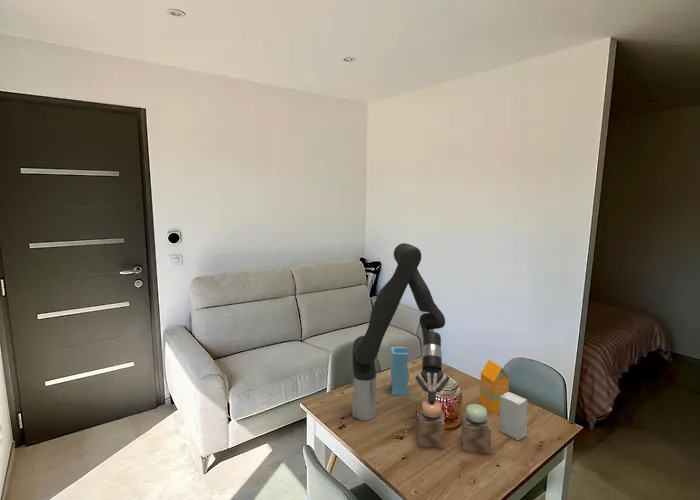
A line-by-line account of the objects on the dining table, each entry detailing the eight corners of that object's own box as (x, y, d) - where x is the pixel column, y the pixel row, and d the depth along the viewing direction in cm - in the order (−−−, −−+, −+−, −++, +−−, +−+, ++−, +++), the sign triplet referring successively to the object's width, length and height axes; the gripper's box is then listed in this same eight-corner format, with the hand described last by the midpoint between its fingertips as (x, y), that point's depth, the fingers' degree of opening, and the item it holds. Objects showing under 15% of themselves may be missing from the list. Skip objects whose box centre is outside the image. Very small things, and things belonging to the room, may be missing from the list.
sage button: (467, 421, 136) (467, 413, 136) (465, 410, 143) (465, 403, 143) (488, 423, 135) (488, 415, 135) (484, 412, 142) (485, 405, 142)
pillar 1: (418, 445, 140) (418, 420, 139) (418, 431, 149) (419, 407, 148) (443, 448, 138) (444, 423, 137) (442, 434, 147) (443, 409, 146)
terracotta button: (421, 416, 139) (422, 408, 139) (421, 406, 146) (422, 399, 146) (441, 418, 138) (441, 410, 138) (440, 408, 145) (440, 400, 145)
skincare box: (526, 436, 146) (529, 399, 144) (517, 441, 142) (519, 404, 140) (507, 425, 153) (509, 390, 151) (497, 430, 149) (499, 394, 147)
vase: (408, 395, 176) (409, 353, 174) (391, 395, 176) (392, 353, 174) (406, 386, 184) (407, 347, 182) (390, 386, 184) (390, 347, 182)
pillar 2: (463, 451, 137) (464, 425, 136) (461, 436, 146) (462, 411, 145) (489, 454, 135) (491, 428, 134) (485, 438, 144) (487, 414, 143)
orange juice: (493, 401, 171) (496, 358, 169) (507, 411, 163) (510, 366, 160) (479, 403, 169) (481, 360, 166) (492, 414, 160) (494, 369, 158)
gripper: (415, 353, 151) (413, 398, 140) (449, 355, 148) (450, 401, 138) (415, 360, 157) (413, 404, 146) (448, 362, 154) (449, 407, 144)
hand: (431, 402), depth 142 cm, fingers closed
